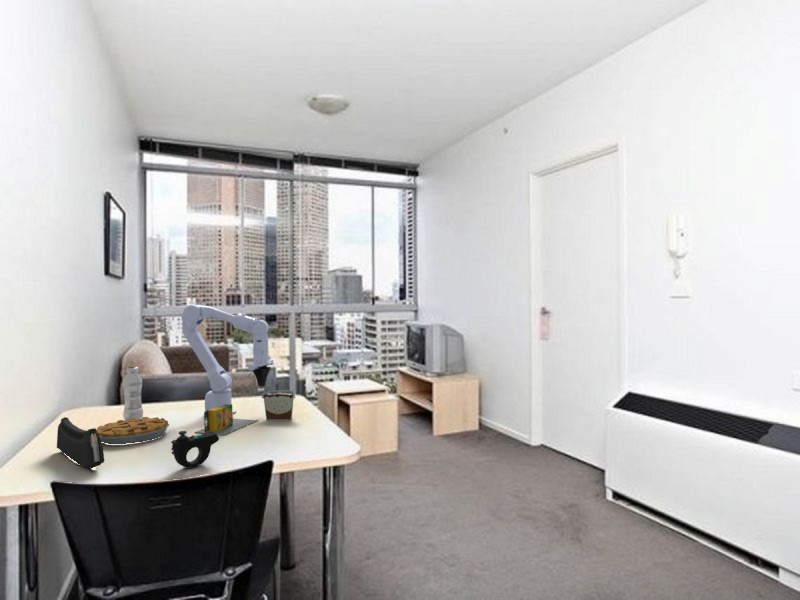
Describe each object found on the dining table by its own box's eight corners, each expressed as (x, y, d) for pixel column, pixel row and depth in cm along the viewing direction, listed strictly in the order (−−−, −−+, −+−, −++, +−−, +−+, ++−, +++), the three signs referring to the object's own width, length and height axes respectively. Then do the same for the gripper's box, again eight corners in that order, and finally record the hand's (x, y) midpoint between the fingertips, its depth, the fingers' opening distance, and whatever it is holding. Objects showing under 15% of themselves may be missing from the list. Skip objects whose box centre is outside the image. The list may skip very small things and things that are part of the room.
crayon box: (233, 424, 177) (211, 434, 166) (226, 424, 178) (203, 433, 167) (232, 404, 177) (210, 412, 166) (226, 403, 178) (202, 411, 167)
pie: (155, 425, 181) (155, 411, 181) (179, 437, 165) (179, 421, 165) (85, 438, 165) (85, 423, 165) (104, 452, 150) (104, 436, 150)
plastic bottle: (119, 422, 185) (117, 368, 184) (135, 418, 191) (133, 365, 191) (131, 424, 182) (130, 369, 182) (147, 419, 188) (146, 366, 188)
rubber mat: (194, 433, 169) (194, 432, 169) (229, 419, 187) (229, 418, 187) (224, 435, 165) (224, 434, 165) (257, 421, 183) (257, 420, 183)
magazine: (53, 421, 152) (84, 405, 133) (65, 418, 154) (97, 402, 135) (59, 478, 149) (92, 470, 130) (72, 475, 151) (106, 467, 132)
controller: (169, 470, 133) (168, 432, 133) (214, 458, 142) (213, 423, 142) (176, 474, 130) (175, 435, 130) (221, 461, 139) (220, 425, 139)
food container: (300, 416, 189) (299, 389, 189) (295, 420, 183) (294, 393, 183) (268, 416, 191) (267, 389, 190) (262, 420, 185) (261, 393, 184)
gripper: (259, 353, 188) (260, 389, 188) (279, 349, 202) (280, 382, 202) (243, 353, 190) (244, 389, 190) (264, 349, 204) (265, 382, 204)
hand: (261, 386), depth 196 cm, fingers closed
